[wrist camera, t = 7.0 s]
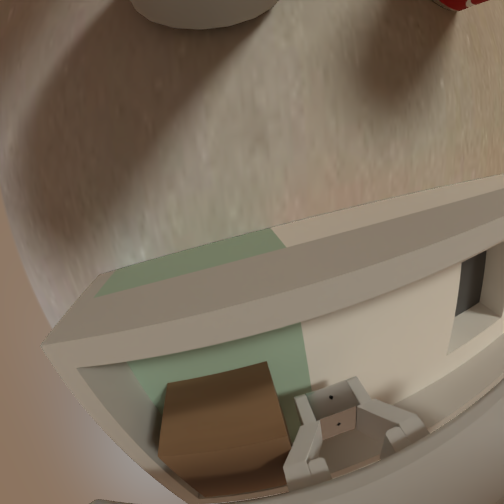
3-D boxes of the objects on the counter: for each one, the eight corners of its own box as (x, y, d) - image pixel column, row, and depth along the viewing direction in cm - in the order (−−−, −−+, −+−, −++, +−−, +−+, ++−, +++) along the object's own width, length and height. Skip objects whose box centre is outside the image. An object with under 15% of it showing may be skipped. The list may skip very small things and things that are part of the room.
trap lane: (99, 274, 12) (40, 345, 6) (534, 167, 14) (581, 179, 8) (189, 434, 16) (189, 504, 11) (523, 291, 18) (559, 314, 12)
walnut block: (167, 382, 11) (157, 456, 7) (266, 360, 11) (287, 435, 7) (203, 435, 12) (204, 497, 9) (284, 418, 13) (302, 480, 9)
